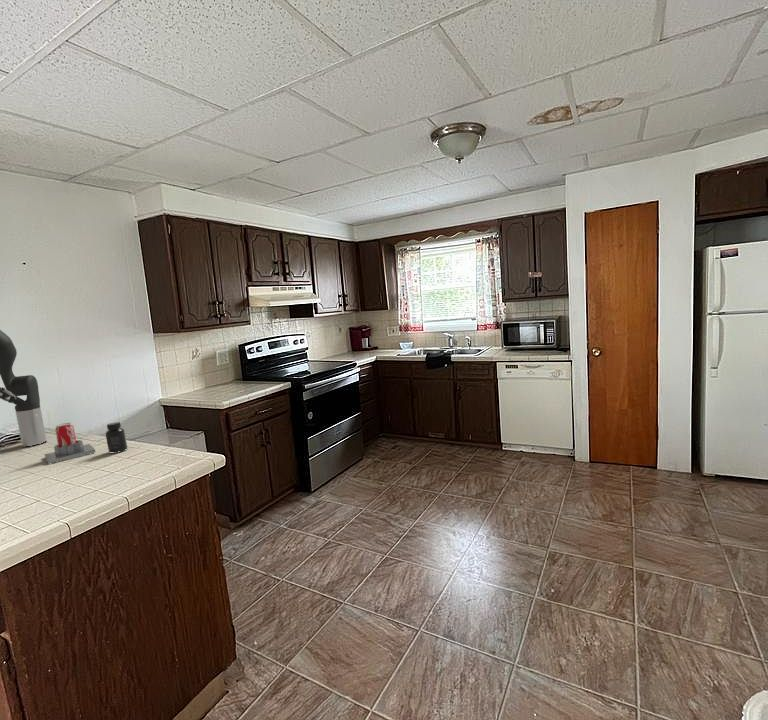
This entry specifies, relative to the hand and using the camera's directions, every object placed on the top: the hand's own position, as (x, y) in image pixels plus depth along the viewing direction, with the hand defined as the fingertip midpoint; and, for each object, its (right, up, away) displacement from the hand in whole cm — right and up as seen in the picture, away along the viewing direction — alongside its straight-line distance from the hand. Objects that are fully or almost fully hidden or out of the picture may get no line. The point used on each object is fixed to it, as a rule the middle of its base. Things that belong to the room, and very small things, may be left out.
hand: (23, 404), depth 177 cm
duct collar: (+15, -22, +6) cm, 27 cm away
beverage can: (+14, -21, +6) cm, 26 cm away
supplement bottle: (+35, -20, +6) cm, 41 cm away
